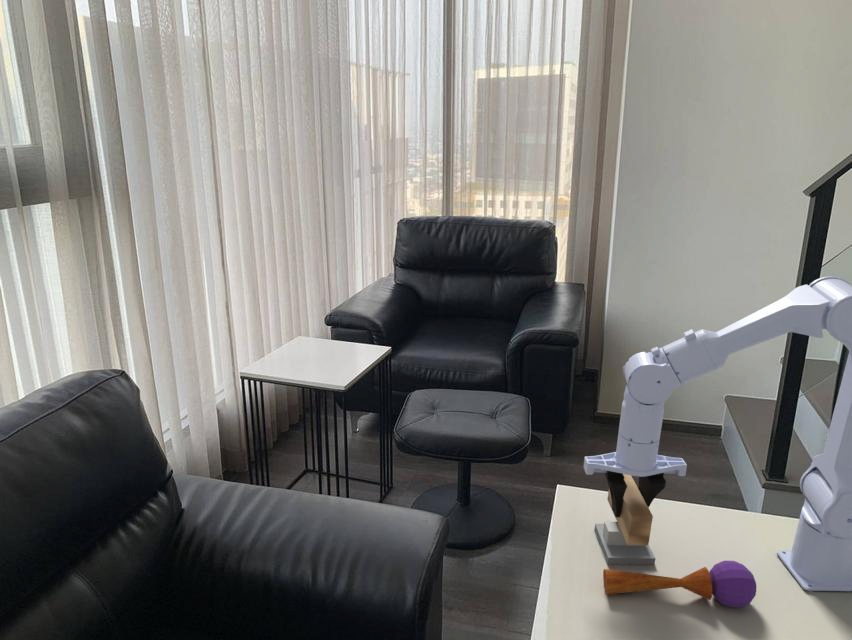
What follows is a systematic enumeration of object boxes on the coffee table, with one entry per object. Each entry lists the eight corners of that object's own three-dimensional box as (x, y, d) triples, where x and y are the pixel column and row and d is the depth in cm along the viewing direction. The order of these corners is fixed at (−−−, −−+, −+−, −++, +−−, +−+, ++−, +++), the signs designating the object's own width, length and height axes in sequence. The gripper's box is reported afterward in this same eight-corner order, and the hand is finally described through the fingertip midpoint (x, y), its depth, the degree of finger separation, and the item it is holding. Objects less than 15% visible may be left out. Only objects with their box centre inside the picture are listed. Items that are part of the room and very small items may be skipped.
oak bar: (626, 499, 102) (629, 472, 100) (648, 545, 92) (652, 516, 90) (607, 499, 102) (610, 472, 100) (627, 545, 92) (631, 515, 90)
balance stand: (637, 530, 102) (640, 511, 101) (654, 565, 94) (657, 544, 93) (594, 529, 102) (596, 510, 101) (607, 564, 94) (610, 543, 93)
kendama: (601, 551, 92) (746, 552, 89) (601, 589, 92) (745, 591, 90) (608, 573, 86) (764, 575, 84) (609, 613, 87) (763, 617, 84)
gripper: (679, 421, 96) (666, 498, 100) (582, 420, 96) (574, 497, 100) (697, 445, 89) (683, 526, 93) (594, 444, 89) (584, 525, 93)
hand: (627, 513), depth 96 cm, fingers closed on oak bar, 3 cm apart
